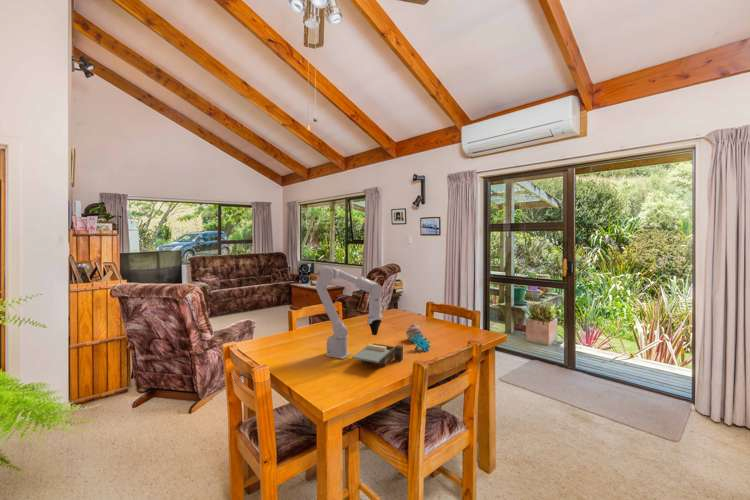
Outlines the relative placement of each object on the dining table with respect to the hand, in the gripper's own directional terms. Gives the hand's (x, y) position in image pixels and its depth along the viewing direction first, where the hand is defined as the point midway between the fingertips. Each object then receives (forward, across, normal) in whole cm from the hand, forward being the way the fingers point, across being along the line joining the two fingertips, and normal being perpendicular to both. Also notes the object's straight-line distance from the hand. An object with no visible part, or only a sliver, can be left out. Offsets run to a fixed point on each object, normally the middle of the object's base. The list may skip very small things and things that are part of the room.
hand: (374, 334), depth 174 cm
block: (+9, -3, -14) cm, 17 cm away
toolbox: (+9, -6, -5) cm, 12 cm away
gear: (+10, +16, -20) cm, 27 cm away
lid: (+5, -15, -5) cm, 16 cm away
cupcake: (+10, +28, -12) cm, 32 cm away
